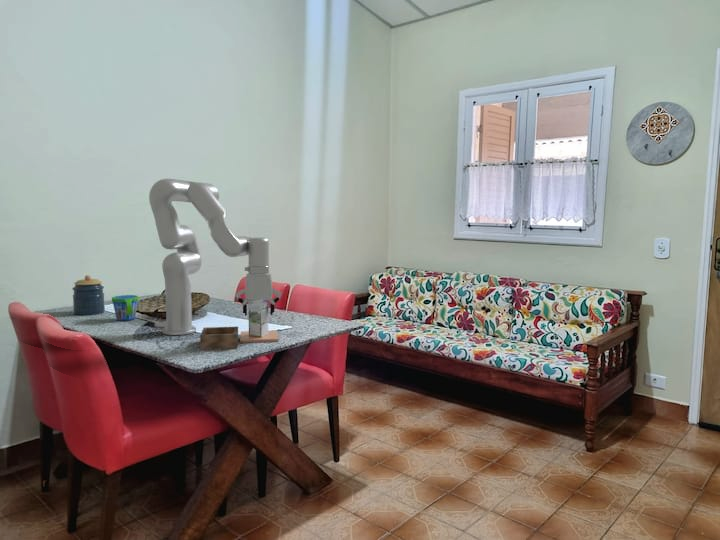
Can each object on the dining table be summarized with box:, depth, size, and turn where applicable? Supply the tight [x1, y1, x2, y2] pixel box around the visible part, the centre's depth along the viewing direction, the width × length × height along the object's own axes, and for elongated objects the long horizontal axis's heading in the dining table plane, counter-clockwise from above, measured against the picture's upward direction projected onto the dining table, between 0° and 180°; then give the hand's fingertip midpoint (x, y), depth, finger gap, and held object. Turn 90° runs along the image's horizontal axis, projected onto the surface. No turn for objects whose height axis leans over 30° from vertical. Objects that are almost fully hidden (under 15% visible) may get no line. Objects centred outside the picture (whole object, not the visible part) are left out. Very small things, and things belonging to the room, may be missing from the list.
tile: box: [239, 329, 279, 344], centre depth 194 cm, size 14×14×1 cm
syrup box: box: [247, 299, 270, 337], centre depth 193 cm, size 6×6×14 cm
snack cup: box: [111, 294, 139, 322], centre depth 221 cm, size 16×10×10 cm
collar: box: [199, 326, 239, 350], centre depth 183 cm, size 12×12×5 cm
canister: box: [71, 274, 106, 316], centre depth 234 cm, size 13×13×18 cm
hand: (258, 314), depth 193 cm, fingers open, 9 cm apart
